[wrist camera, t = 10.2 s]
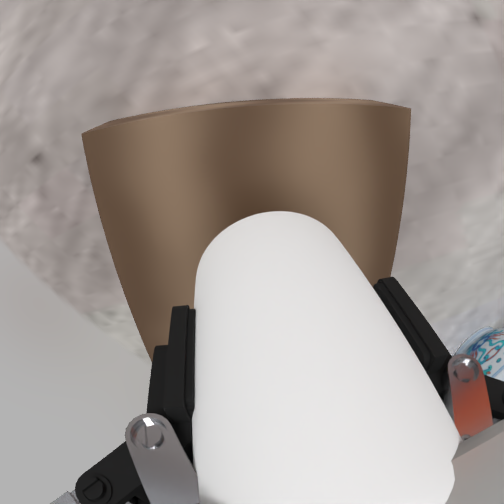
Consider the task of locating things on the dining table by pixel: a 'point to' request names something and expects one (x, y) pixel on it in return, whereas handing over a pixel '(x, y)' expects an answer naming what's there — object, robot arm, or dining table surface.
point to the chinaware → (487, 350)
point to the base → (242, 186)
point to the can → (307, 378)
